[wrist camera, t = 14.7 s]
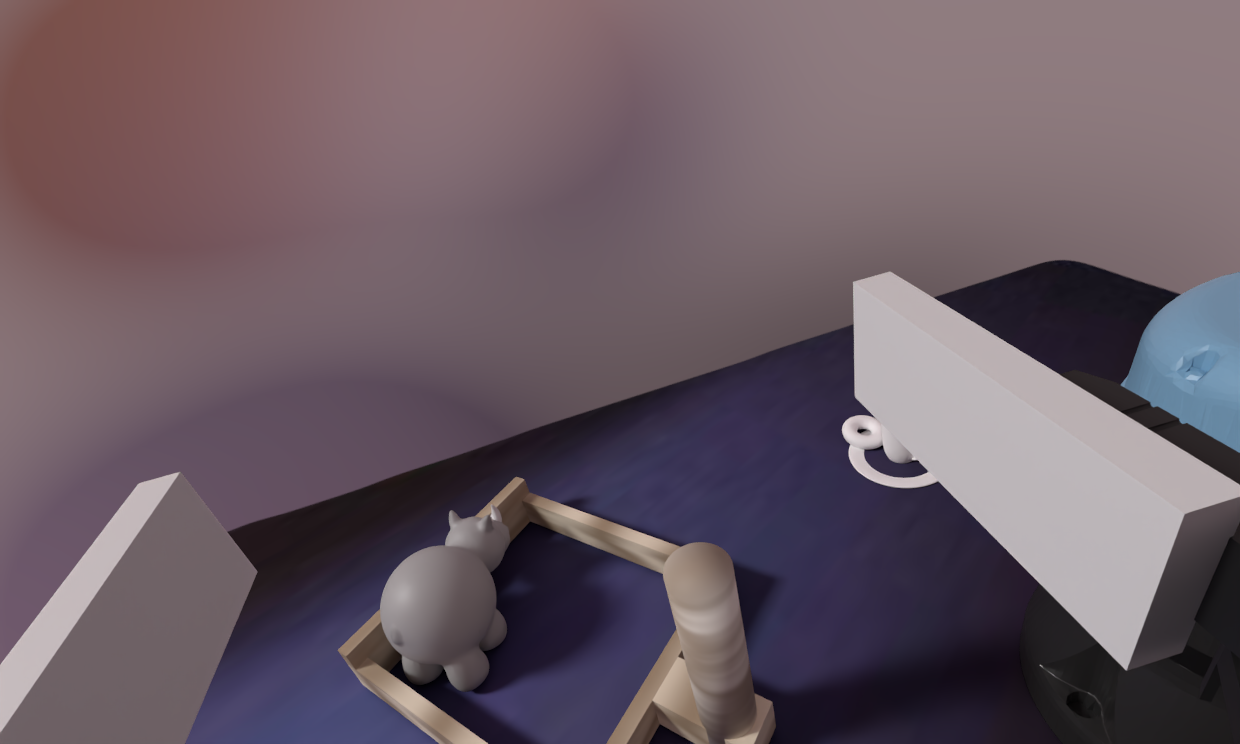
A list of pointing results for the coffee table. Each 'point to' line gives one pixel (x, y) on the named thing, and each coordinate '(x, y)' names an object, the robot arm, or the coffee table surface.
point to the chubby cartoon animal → (448, 604)
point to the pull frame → (684, 673)
